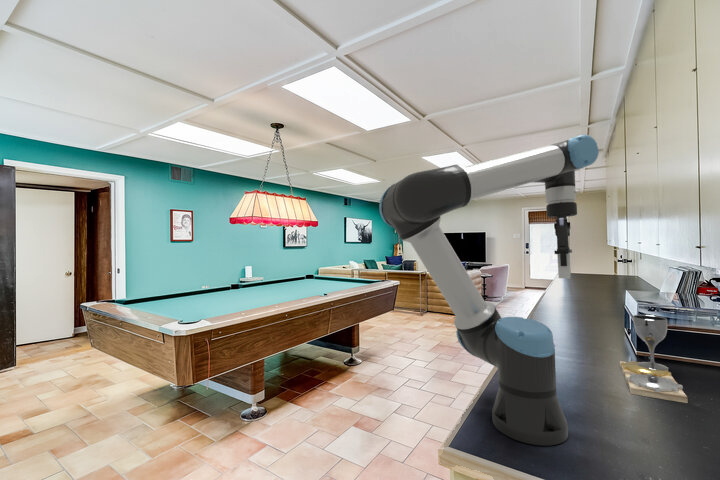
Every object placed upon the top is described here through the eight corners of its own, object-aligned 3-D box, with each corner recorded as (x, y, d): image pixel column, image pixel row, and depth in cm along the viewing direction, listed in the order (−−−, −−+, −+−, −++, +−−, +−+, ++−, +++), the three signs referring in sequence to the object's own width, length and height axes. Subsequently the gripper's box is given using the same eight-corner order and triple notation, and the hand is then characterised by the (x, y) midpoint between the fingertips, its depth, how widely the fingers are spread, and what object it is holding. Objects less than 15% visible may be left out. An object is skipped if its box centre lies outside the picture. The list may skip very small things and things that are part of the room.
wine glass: (657, 361, 103) (654, 314, 104) (677, 371, 95) (674, 320, 96) (629, 361, 104) (626, 314, 105) (647, 370, 97) (644, 320, 97)
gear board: (689, 403, 81) (688, 389, 81) (629, 393, 87) (628, 380, 87) (666, 371, 101) (665, 360, 101) (619, 365, 107) (618, 355, 107)
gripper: (576, 196, 81) (581, 280, 81) (576, 205, 102) (580, 273, 101) (542, 199, 86) (547, 279, 85) (548, 208, 106) (552, 272, 106)
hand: (565, 276), depth 93 cm, fingers open, 13 cm apart
